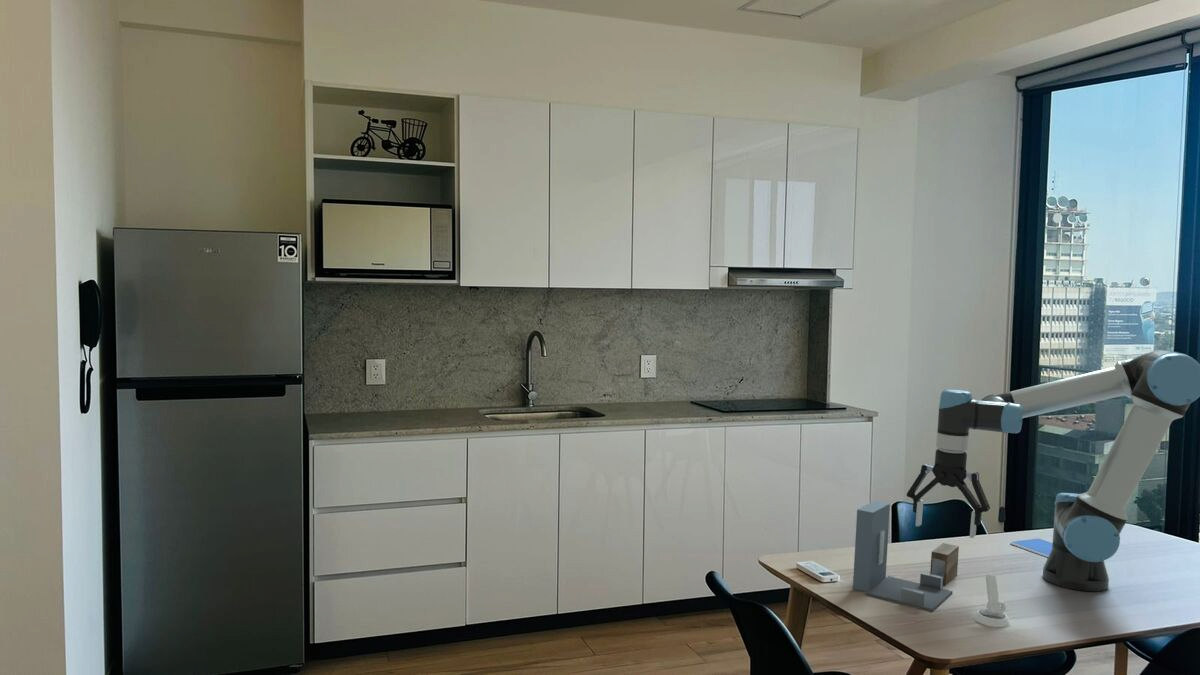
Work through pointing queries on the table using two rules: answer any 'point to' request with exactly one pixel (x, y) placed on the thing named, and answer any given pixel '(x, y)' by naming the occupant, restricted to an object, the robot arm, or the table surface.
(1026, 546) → the tablet computer
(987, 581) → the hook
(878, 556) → the slotted tower stand
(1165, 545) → the table surface
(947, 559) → the labeled wooden box
